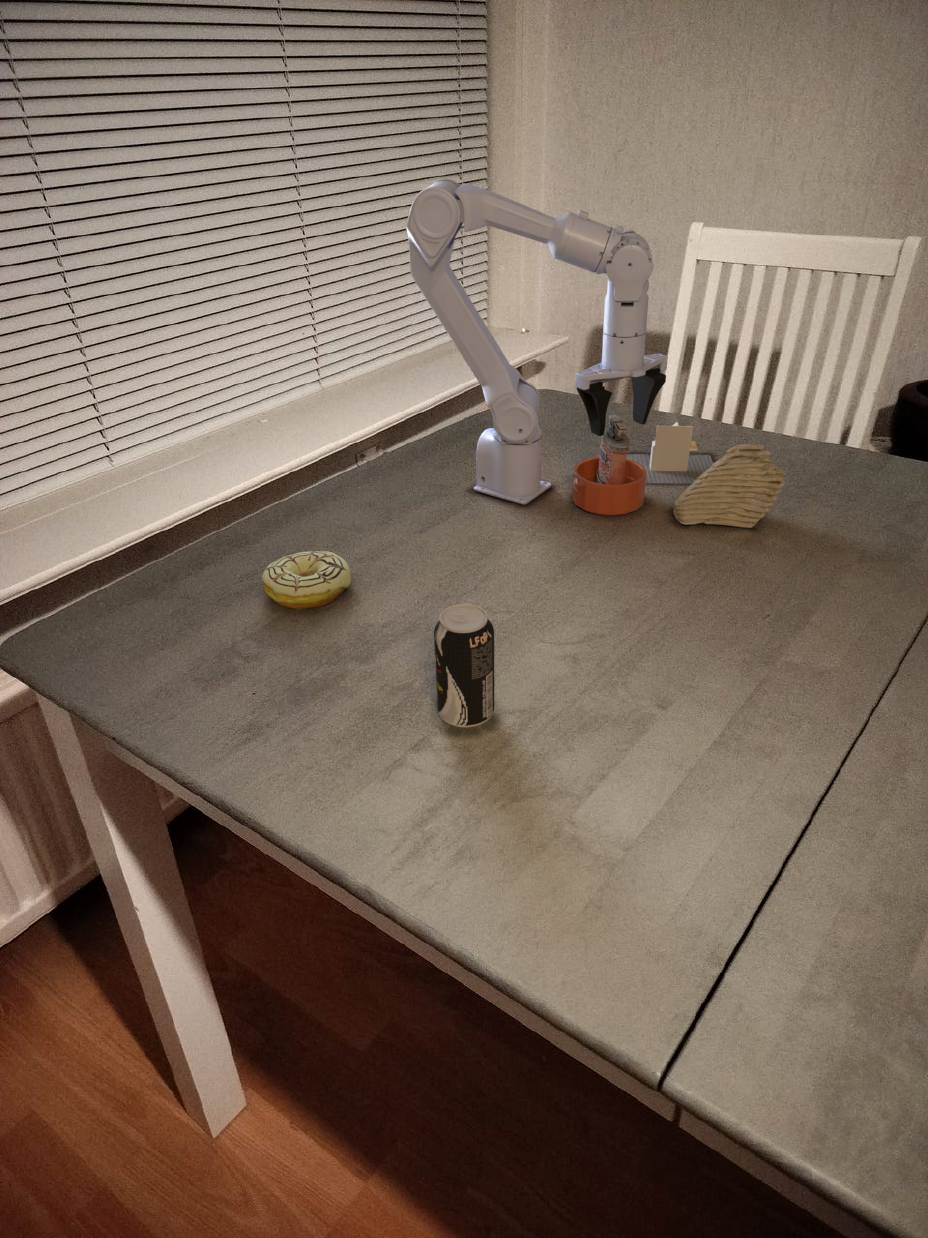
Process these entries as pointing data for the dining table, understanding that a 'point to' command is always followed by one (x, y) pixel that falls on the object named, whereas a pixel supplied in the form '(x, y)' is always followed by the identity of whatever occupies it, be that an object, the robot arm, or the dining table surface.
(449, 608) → the beverage can
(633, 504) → the bowl
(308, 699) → the dining table surface
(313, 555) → the decorated donut
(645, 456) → the architectural model
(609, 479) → the lighter
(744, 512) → the fossil tooth
